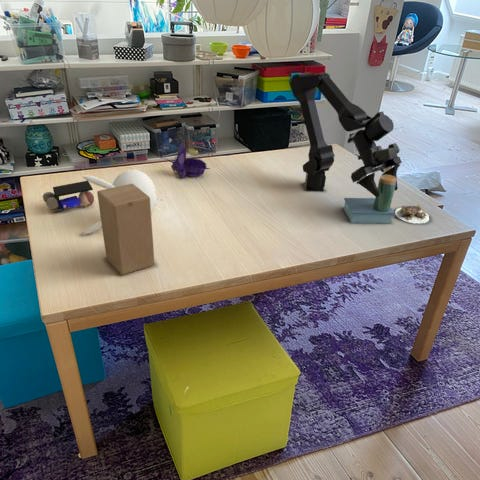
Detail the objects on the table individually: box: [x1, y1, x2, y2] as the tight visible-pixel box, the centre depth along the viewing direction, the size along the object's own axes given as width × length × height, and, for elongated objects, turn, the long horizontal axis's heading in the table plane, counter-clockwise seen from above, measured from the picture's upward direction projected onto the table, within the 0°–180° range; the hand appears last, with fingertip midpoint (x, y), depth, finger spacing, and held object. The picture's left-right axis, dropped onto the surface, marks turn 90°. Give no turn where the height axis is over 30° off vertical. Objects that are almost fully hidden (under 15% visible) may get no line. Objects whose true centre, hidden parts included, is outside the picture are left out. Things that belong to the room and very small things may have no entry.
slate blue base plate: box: [343, 197, 395, 224], centre depth 165 cm, size 14×11×4 cm
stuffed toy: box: [81, 169, 163, 236], centre depth 148 cm, size 19×14×25 cm
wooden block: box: [97, 184, 156, 276], centre depth 130 cm, size 10×10×20 cm
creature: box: [163, 139, 211, 179], centre depth 183 cm, size 9×18×12 cm, turn 108°
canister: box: [373, 174, 398, 212], centre depth 159 cm, size 5×5×10 cm
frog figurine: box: [394, 204, 430, 225], centre depth 166 cm, size 12×12×4 cm
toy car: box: [42, 180, 95, 213], centre depth 159 cm, size 7×8×15 cm
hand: (387, 193), depth 159 cm, fingers open, 9 cm apart
